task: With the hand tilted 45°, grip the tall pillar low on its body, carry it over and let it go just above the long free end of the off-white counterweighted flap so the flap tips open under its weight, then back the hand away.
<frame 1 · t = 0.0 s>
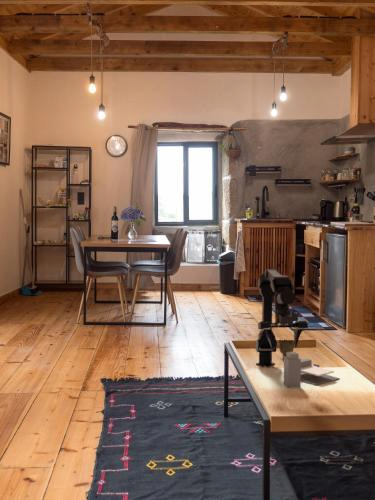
hand: (283, 347, 207), 15 cm above the table, tool pointing down, fingers open, 9 cm apart
trapdoor flap: (312, 366, 220), point 5 cm above the table, hinge at 0.0°
stone pillar: (292, 385, 209), on the table
cup: (286, 357, 256), on the table
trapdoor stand: (306, 376, 223), on the table
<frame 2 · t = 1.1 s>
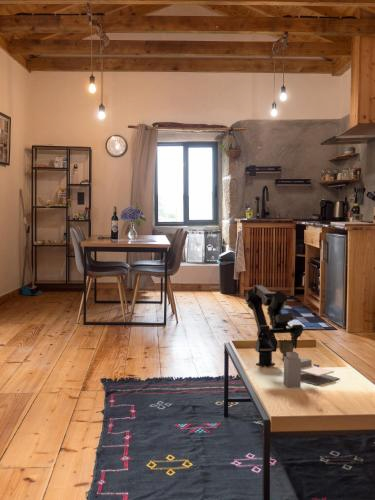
hand: (285, 348, 217), 13 cm above the table, tool tilted 45°, fingers open, 9 cm apart
nothing on the table moved.
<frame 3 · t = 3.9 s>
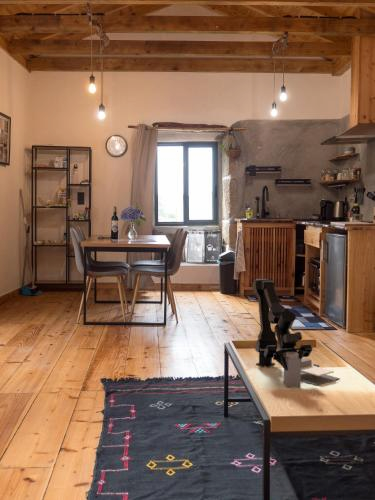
hand: (293, 369, 208), 7 cm above the table, tool tilted 45°, fingers closed on stone pillar, 5 cm apart
stone pillar: (292, 385, 209), on the table, touching gripper
everything else where it was.
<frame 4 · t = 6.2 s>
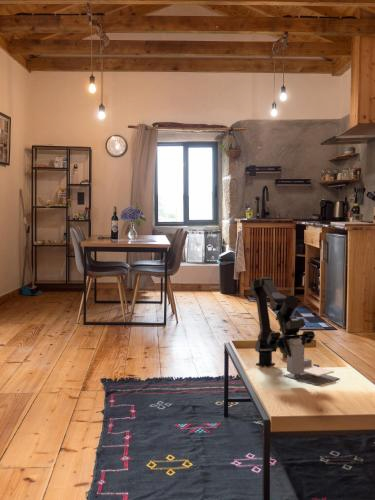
hand: (296, 356, 208), 12 cm above the table, tool tilted 45°, fingers closed on stone pillar, 5 cm apart
stone pillar: (295, 371, 210), point 5 cm above the table, touching gripper
everything else where it was.
when the fingers open (12 cm above the table, at t = 8.9 s): stone pillar drops 3 cm, resting on trapdoor flap.
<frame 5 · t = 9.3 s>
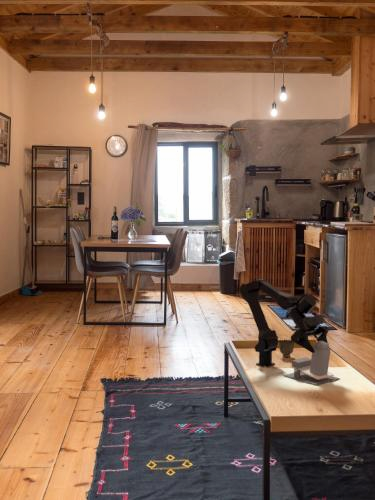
hand: (321, 351, 216), 12 cm above the table, tool tilted 45°, fingers open, 9 cm apart
trapdoor flap: (312, 367, 220), point 4 cm above the table, hinge at -8.1°, touching stone pillar
stone pillar: (318, 373, 218), point 3 cm above the table, tilted 8°, touching trapdoor flap
everything else where it was.
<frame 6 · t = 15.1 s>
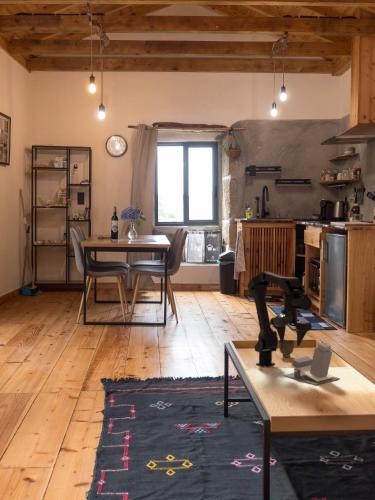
hand: (290, 343, 225), 13 cm above the table, tool pointing down, fingers open, 9 cm apart
trapdoor flap: (312, 368, 220), point 4 cm above the table, hinge at -13.2°, touching stone pillar
stone pillar: (318, 374, 218), point 2 cm above the table, tilted 13°, touching trapdoor flap
everything else where it was.
at the end: trapdoor flap at -13° (first picture: +0°); stone pillar touching trapdoor flap; the gripper is holding nothing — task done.
